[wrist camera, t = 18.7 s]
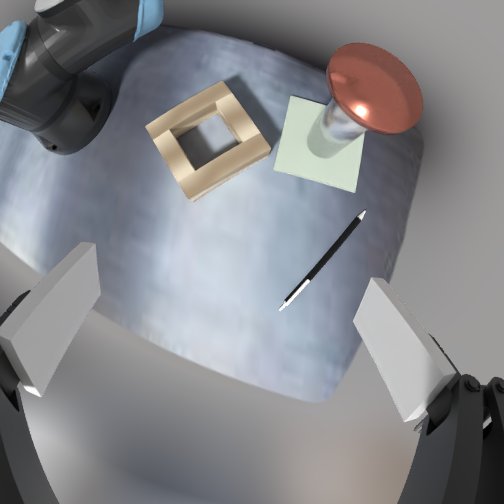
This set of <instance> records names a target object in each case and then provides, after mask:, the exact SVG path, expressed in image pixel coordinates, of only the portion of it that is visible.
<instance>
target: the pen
mask: <svg viewBox="0 0 504 504" xmlns="http://www.w3.org/2000/svg"><path fill="white" fill-rule="evenodd" d="M365 212H366V210H365V211H363V212H362V213H361V214H360V215H358V216H357V217H356V218H355V220H354V221H353V222H352V223H351V224H350V226H349V227H348V228H347V229H346V230H345V232H344V233H343V234H342V235H341V237H340V238H339V239H338V240H337V241H336V242H335V244H334V245H333V246H332V247H331V248H330V250H329V251H328V252H327V253H326V254H325V255H324V257H323V258H322V259H321V260H320V261H319V262H318V264H317V265H316V266H315V267H314V268H313V269H312V270H311V272H310V273H309V274H308V275H307V276H306V277H305V278H304V279H303V281H302V282H301V283H300V284H299V285H298V286H297V287H296V288H295V289H294V291H293V292H292V293H291V294H290V295H289V296H288V297H287V298H286V299H285V300H284V304H283V305H282V306H281V307H280V308H279V310H280V311H281V310H282V309H283V308H284V307H285V306H286V305H287V306H288V305H289V304H290V303H291V302H292V301H293V300H294V299H295V297H296V296H297V295H298V294H299V293H300V292H301V291H302V290H303V289H304V288H305V286H306V285H307V284H308V283H309V282H310V281H311V280H312V279H313V277H314V276H315V275H316V274H317V273H318V272H319V271H320V269H321V268H322V267H323V266H324V265H325V264H326V262H327V261H328V260H329V259H330V258H331V257H332V255H333V254H334V253H335V252H336V251H337V250H338V248H339V247H340V246H341V245H342V244H343V242H344V241H345V240H346V239H347V238H348V236H349V235H350V234H351V233H352V231H353V230H354V229H355V228H356V227H357V225H358V224H359V223H360V222H361V220H362V218H363V216H364V214H365Z"/></svg>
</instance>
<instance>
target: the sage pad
mask: <svg viewBox="0 0 504 504" xmlns="http://www.w3.org/2000/svg"><path fill="white" fill-rule="evenodd" d="M326 107H327V106H325V105H322V104H319V103H315V102H312V101H309V100H305V99H302V98H298V97H294V96H291V97H290V101H289V105H288V109H287V114H286V118H285V122H284V126H283V131H282V135H281V139H280V143H279V148H278V152H277V156H276V161H275V165H274V169H273V170H275V171H279V172H283V173H287V174H291V175H294V176H298V177H302V178H305V179H309V180H313V181H316V182H319V183H323V184H326V185H330V186H333V187H336V188H339V189H343V190H346V191H349V192H352V193H355V190H356V184H357V178H358V173H359V167H360V160H361V154H362V147H363V140H364V133H363V134H362V135H361V136H359V137H358V138H357V139H356V140H354V141H353V142H352V143H350V144H349V145H348V146H347V147H345V148H344V149H343V150H341V151H340V152H339V153H338V154H336V155H335V156H334V157H332V158H328V159H323V158H319V157H317V156H315V155H314V154H313V153H312V152H311V151H310V150H309V148H308V146H307V135H308V133H309V131H310V130H311V128H312V127H313V126H314V124H315V123H316V121H317V120H318V118H319V117H320V115H321V114H322V112H323V111H324V110H325V108H326Z"/></svg>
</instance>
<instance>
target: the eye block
mask: <svg viewBox="0 0 504 504" xmlns="http://www.w3.org/2000/svg"><path fill="white" fill-rule="evenodd" d="M216 114H219V115H220V117H221V118H222V120H223V121H224V123H225V124H226V125H227V127H228V128H229V130H230V131H231V133H232V134H233V136H234V137H235V139H236V140H237V142H238V143H239V145H237V146H236V147H234V148H232V149H230V150H229V151H227V152H225V153H224V154H222V155H220V156H219V157H217V158H215V159H214V160H212V161H210V162H209V163H207V164H206V165H204V166H202V167H201V168H199V169H198V170H195V168H194V166H193V165H192V163H191V162H190V160H189V158H188V157H187V155H186V153H185V152H184V150H183V149H182V147H181V145H180V144H179V142H178V140H177V139H176V138H178V137H179V136H181V135H183V134H184V133H186V132H187V131H189V130H191V129H192V128H194V127H195V126H197V125H199V124H201V123H202V122H204V121H206V120H207V119H209V118H211V117H213V116H214V115H216ZM145 127H146V129H147V130H148V132H149V134H150V136H151V137H152V139H153V141H154V143H155V144H156V146H157V148H158V149H159V151H160V153H161V155H162V156H163V158H164V160H165V161H166V163H167V165H168V167H169V168H170V170H171V172H172V173H173V175H174V177H175V178H176V180H177V182H178V183H179V185H180V187H181V188H182V190H183V192H184V193H185V195H186V197H187V198H188V199H189V200H191V201H193V202H194V201H196V200H197V199H199V198H201V197H202V196H204V195H205V194H207V193H208V192H210V191H211V190H213V189H215V188H216V187H218V186H219V185H221V184H223V183H224V182H226V181H228V180H229V179H231V178H233V177H234V176H236V175H238V174H239V173H241V172H243V171H244V170H246V169H248V168H249V167H251V166H253V165H254V164H256V163H258V162H260V161H261V160H263V159H265V158H267V157H268V156H269V153H270V150H271V147H270V146H269V145H268V143H267V142H266V140H265V139H264V137H263V136H262V134H261V133H260V131H259V130H258V128H257V127H256V126H255V124H254V123H253V121H252V120H251V118H250V117H249V116H248V114H247V113H246V111H245V110H244V109H243V107H242V106H241V105H240V103H239V102H238V101H237V99H236V98H235V96H234V95H233V94H232V92H231V91H230V90H229V88H228V87H227V86H226V85H225V83H224V82H223V81H221V82H219V83H217V84H215V85H213V86H211V87H209V88H207V89H206V90H204V91H202V92H200V93H198V94H196V95H195V96H193V97H191V98H189V99H188V100H186V101H184V102H183V103H181V104H179V105H178V106H176V107H174V108H173V109H171V110H170V111H168V112H166V113H165V114H163V115H162V116H160V117H159V118H157V119H156V120H154V121H153V122H151V123H150V124H148V125H147V126H145Z"/></svg>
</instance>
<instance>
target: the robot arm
mask: <svg viewBox="0 0 504 504" xmlns="http://www.w3.org/2000/svg"><path fill="white" fill-rule="evenodd" d="M34 9H35V10H36V12H37V13H38V14H39V16H37V17H36V18H35V19H33V20H32V21H31V22H30V23H29V24H27V23H26V21H21V20H17V21H15V22H14V23H12V24H10V25H8V27H6V28H5V29H4V30H3V31H2V32H1V33H0V120H1V121H4V122H6V123H9V124H12V125H14V126H17V127H20V128H22V129H25V130H28V131H30V132H32V133H33V134H34V136H35V137H36V138H37V139H38V141H39V142H40V143H41V144H42V145H43V146H44V148H46V149H47V150H49V151H51V152H53V153H56V154H59V155H68V154H72V153H75V152H77V151H79V150H80V149H82V148H83V147H85V146H86V145H87V144H88V143H90V142H91V141H92V140H93V139H94V137H95V136H96V135H97V134H98V132H99V131H100V130H101V128H102V127H103V125H104V123H105V121H106V119H107V117H108V114H109V111H110V108H111V102H112V93H111V89H110V87H109V85H108V83H107V82H106V81H105V80H104V79H103V78H102V77H101V76H99V75H98V74H96V73H93V72H90V71H86V70H85V69H86V68H88V67H89V66H91V65H92V64H94V63H95V62H97V61H99V60H100V59H102V58H103V57H105V56H107V55H108V54H110V53H112V52H113V51H115V50H117V49H118V48H120V47H122V46H124V45H126V44H127V43H129V42H131V43H132V42H135V41H136V40H137V39H138V38H139V37H141V36H143V35H145V34H147V33H148V32H150V31H152V30H154V29H156V28H157V27H158V26H159V25H160V24H161V22H162V20H163V17H164V6H163V0H37V1H36V4H35V8H34ZM100 295H101V291H100V284H99V276H98V267H97V257H96V246H95V243H88V242H81V243H80V244H79V245H78V246H76V247H75V248H74V249H73V250H72V251H71V252H70V253H69V254H68V255H67V256H66V257H65V258H63V259H62V260H61V261H60V262H59V263H58V264H57V265H56V266H55V267H54V268H53V269H52V270H51V271H50V272H49V273H48V274H47V275H46V276H45V277H44V278H43V279H42V280H41V281H40V282H39V283H38V284H37V285H36V286H35V287H34V289H33V290H32V291H31V290H28V291H27V292H25V293H23V294H22V295H20V296H19V297H18V298H17V299H16V300H15V301H14V302H13V303H12V306H10V307H9V308H8V309H7V312H4V314H3V315H2V316H1V317H0V504H59V502H58V500H57V498H56V497H55V494H54V492H53V490H52V489H51V486H50V484H49V482H48V480H47V477H46V475H45V473H44V470H43V468H42V465H41V463H40V460H39V458H38V455H37V452H36V450H35V447H34V444H33V441H32V438H31V435H30V431H29V428H28V425H27V421H26V418H25V413H24V410H23V406H22V401H21V396H20V393H19V390H18V388H17V384H18V383H19V381H21V383H22V384H23V386H24V388H25V389H26V390H27V391H29V392H31V393H33V394H35V395H37V396H39V397H42V396H43V394H44V392H45V390H46V388H47V386H48V384H49V382H50V380H51V378H52V376H53V374H54V372H55V370H56V368H57V366H58V364H59V363H60V361H61V359H62V357H63V355H64V353H65V352H66V350H67V348H68V346H69V345H70V343H71V341H72V340H73V338H74V336H75V334H76V333H77V331H78V329H79V328H80V326H81V325H82V323H83V321H84V319H85V318H86V316H87V315H88V313H89V312H90V310H91V309H92V307H93V305H94V304H95V302H96V301H97V299H98V298H99V296H100ZM353 323H354V324H355V326H356V328H357V330H358V332H359V334H360V335H361V337H362V339H363V341H364V343H365V345H366V347H367V348H368V350H369V352H370V354H371V356H372V358H373V360H374V362H375V364H376V366H377V368H378V370H379V372H380V373H381V376H382V377H383V379H384V382H385V383H386V386H387V388H388V390H389V392H390V394H391V396H392V398H393V400H394V402H395V404H396V406H397V408H398V410H399V413H400V415H401V417H402V419H403V421H404V422H406V421H409V420H413V419H416V418H418V417H419V416H420V415H421V414H422V413H423V411H425V409H426V410H427V412H428V415H427V416H426V417H425V418H424V419H423V420H422V421H421V422H420V423H419V424H418V425H417V426H416V427H415V429H414V431H416V430H417V429H418V428H420V427H421V426H422V429H421V430H420V431H419V433H421V434H420V438H419V442H418V446H417V449H416V453H415V456H414V460H413V463H412V466H411V469H410V472H409V475H408V478H407V480H406V483H405V486H404V489H403V491H402V494H401V496H400V499H399V501H398V503H397V504H504V380H503V379H502V378H499V377H494V378H492V380H491V381H490V382H489V383H488V384H487V385H480V383H479V381H478V380H476V379H475V378H474V377H473V376H471V375H468V374H464V375H462V376H461V374H460V373H459V372H458V370H457V369H456V367H455V366H454V364H453V363H452V362H451V360H450V359H449V357H448V356H447V355H446V354H444V351H443V349H442V348H441V347H440V345H439V344H438V343H437V341H436V340H435V339H434V337H432V336H431V335H430V334H429V333H428V332H427V331H426V330H425V329H424V328H423V326H422V325H421V323H420V322H419V321H418V320H417V319H416V317H415V316H414V315H413V313H412V312H411V311H410V310H409V309H408V307H407V306H406V305H405V304H404V302H403V301H402V300H401V299H400V298H399V296H398V295H397V294H396V293H395V292H394V290H393V289H392V288H391V287H390V286H389V285H388V283H387V282H386V281H385V280H384V279H382V278H373V277H371V280H370V282H369V285H368V287H367V290H366V292H365V295H364V297H363V299H362V302H361V304H360V306H359V309H358V311H357V313H356V316H355V318H354V320H353ZM490 416H491V420H492V422H491V423H490V424H489V425H488V426H486V427H485V428H484V429H483V423H484V422H485V421H486V420H487V419H488V418H489V417H490Z"/></svg>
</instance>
